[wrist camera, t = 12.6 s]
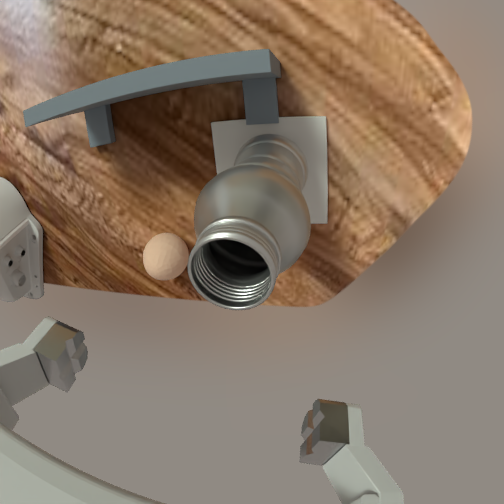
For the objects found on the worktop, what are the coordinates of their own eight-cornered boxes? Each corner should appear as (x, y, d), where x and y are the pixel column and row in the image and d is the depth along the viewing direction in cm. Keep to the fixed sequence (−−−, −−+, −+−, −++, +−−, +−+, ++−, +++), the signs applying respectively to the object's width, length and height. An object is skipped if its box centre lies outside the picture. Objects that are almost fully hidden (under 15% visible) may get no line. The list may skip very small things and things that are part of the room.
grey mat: (327, 222, 33) (327, 223, 32) (224, 223, 35) (223, 224, 34) (325, 116, 28) (325, 116, 27) (211, 122, 30) (210, 122, 29)
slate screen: (284, 121, 29) (276, 137, 20) (92, 146, 32) (34, 171, 24) (279, 61, 26) (268, 49, 17) (84, 97, 29) (23, 111, 21)
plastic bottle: (262, 117, 28) (192, 164, 11) (321, 156, 29) (346, 263, 12) (228, 171, 31) (133, 283, 14) (284, 207, 32) (257, 355, 15)
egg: (156, 220, 36) (133, 243, 31) (197, 231, 36) (180, 257, 31) (154, 256, 38) (133, 283, 33) (192, 267, 38) (175, 296, 33)
